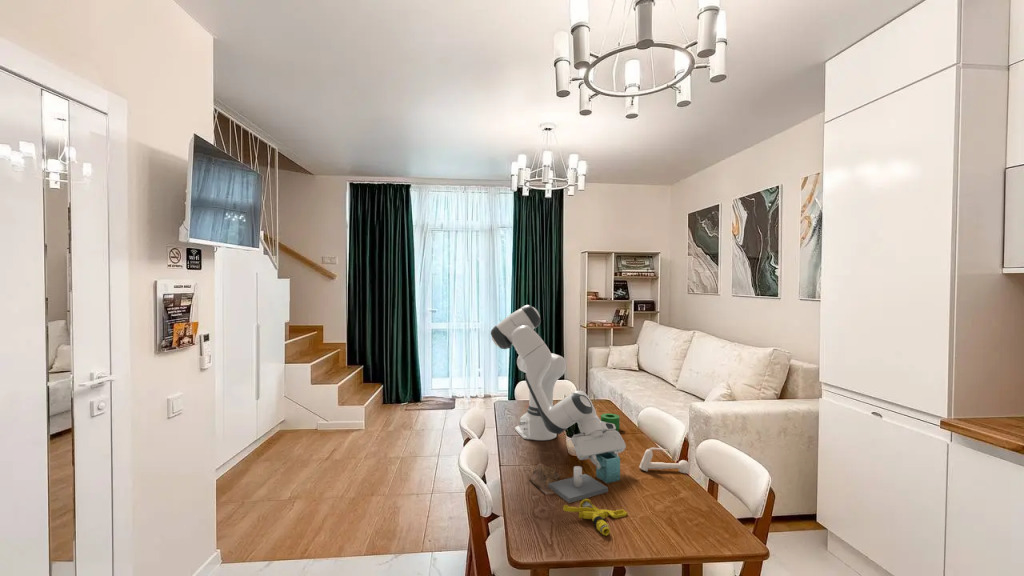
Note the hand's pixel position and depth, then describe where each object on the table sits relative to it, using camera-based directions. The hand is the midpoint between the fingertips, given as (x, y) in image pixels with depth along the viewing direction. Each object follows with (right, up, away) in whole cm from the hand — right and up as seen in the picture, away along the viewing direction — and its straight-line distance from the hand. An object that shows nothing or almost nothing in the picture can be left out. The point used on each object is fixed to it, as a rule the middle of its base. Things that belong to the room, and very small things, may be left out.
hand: (609, 466), depth 153 cm
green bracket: (+9, -5, +55) cm, 56 cm away
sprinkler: (-9, -5, -28) cm, 30 cm away
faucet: (+22, -5, +7) cm, 24 cm away
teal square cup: (0, -4, +1) cm, 4 cm away
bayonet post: (-13, -4, -8) cm, 16 cm away
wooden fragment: (-23, -5, +1) cm, 24 cm away
